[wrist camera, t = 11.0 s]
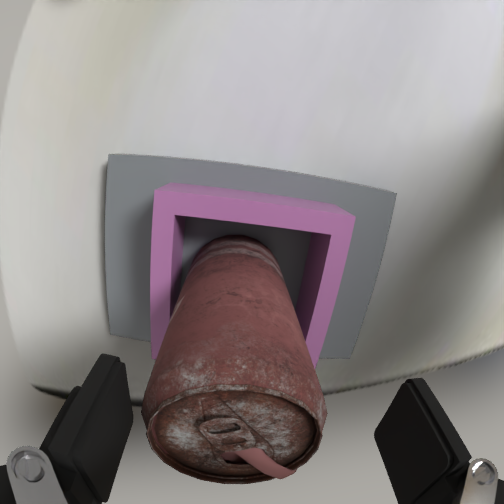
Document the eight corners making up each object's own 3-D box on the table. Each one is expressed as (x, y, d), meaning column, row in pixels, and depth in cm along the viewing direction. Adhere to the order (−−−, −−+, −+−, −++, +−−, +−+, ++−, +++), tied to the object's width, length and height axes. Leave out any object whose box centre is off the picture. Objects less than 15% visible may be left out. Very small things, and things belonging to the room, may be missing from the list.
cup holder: (387, 190, 21) (426, 203, 16) (344, 348, 25) (364, 389, 20) (116, 153, 19) (80, 156, 14) (116, 325, 24) (92, 363, 18)
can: (245, 329, 22) (256, 502, 9) (174, 282, 21) (108, 447, 8) (300, 270, 21) (376, 430, 8) (226, 214, 20) (204, 342, 6)
